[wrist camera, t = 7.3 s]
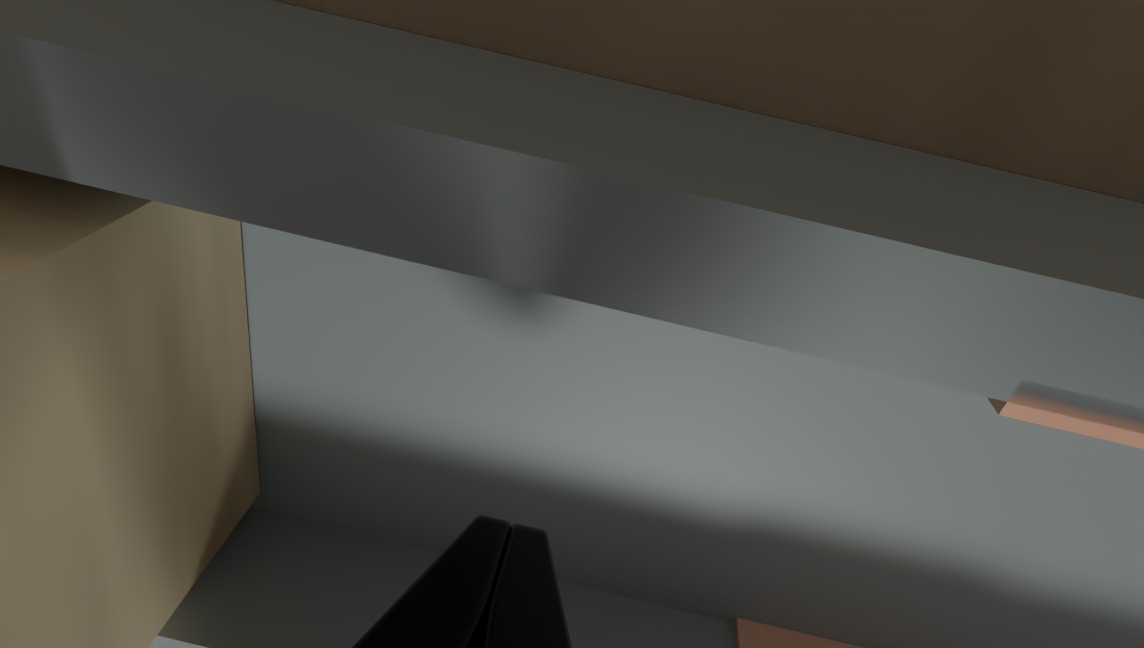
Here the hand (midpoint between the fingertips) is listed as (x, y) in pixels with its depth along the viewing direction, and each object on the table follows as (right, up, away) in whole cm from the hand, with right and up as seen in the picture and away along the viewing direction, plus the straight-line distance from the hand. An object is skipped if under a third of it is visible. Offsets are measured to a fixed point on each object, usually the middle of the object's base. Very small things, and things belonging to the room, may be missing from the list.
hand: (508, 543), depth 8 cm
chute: (+1, +1, +3) cm, 3 cm away
